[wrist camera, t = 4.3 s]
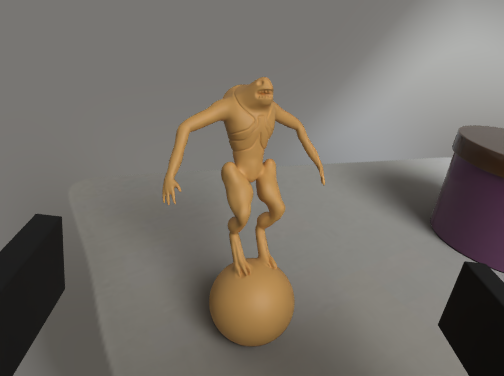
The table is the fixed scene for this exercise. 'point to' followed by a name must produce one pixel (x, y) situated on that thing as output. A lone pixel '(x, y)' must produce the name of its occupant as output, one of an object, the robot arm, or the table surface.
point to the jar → (474, 196)
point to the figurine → (247, 212)
